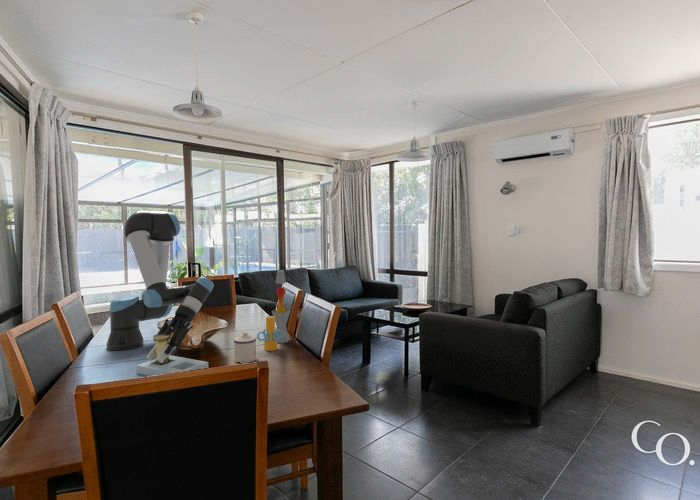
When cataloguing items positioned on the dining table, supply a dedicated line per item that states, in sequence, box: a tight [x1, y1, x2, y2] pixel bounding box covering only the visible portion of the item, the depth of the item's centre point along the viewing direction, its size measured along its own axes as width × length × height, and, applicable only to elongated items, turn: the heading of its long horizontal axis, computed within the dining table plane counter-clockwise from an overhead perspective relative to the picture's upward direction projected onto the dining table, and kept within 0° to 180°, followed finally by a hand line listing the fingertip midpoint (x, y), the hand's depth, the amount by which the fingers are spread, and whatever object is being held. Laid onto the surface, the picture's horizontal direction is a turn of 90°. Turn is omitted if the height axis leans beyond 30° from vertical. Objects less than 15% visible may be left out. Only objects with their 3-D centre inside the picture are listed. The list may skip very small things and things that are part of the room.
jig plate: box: [136, 354, 209, 377], centre depth 146 cm, size 22×14×3 cm, turn 65°
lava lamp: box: [271, 269, 291, 344], centre depth 188 cm, size 9×9×35 cm
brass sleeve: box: [152, 333, 172, 366], centre depth 148 cm, size 6×6×12 cm
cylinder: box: [256, 315, 284, 352], centre depth 174 cm, size 12×10×15 cm
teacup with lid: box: [233, 331, 257, 364], centre depth 161 cm, size 12×9×12 cm
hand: (154, 360), depth 145 cm, fingers closed on brass sleeve, 5 cm apart
